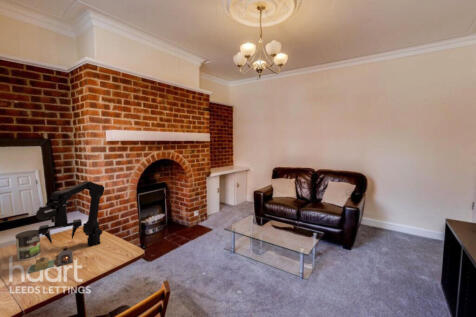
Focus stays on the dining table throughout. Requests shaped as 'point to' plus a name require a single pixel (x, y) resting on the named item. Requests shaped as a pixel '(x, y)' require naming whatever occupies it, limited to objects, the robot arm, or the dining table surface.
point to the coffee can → (28, 245)
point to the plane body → (65, 257)
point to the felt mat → (50, 264)
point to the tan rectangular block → (41, 263)
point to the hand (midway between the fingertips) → (62, 240)
